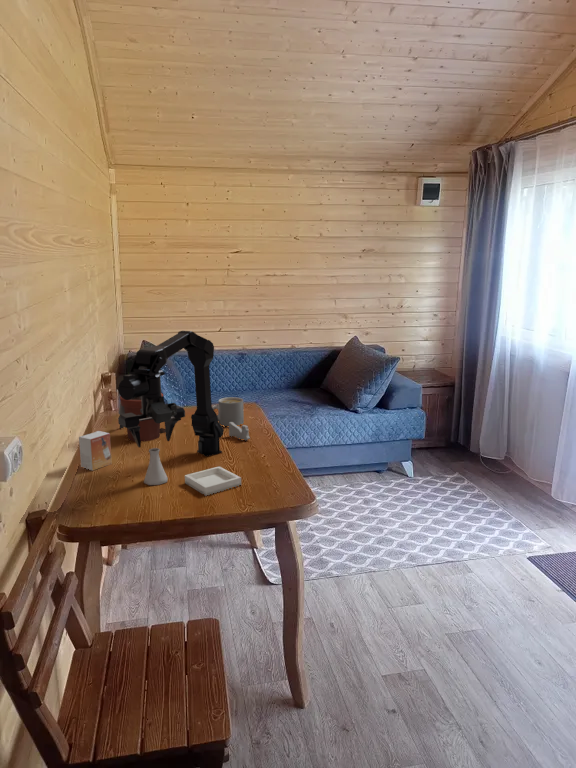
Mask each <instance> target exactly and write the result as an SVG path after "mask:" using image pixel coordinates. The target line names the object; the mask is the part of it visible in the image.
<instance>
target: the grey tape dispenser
mask: <svg viewBox="0 0 576 768" xmlns="http://www.w3.org/2000/svg"><path fill="white" fill-rule="evenodd" d="M249 432H250V430H249V426H248V425H245V424H243V425H242V426H237V425H235V424H234V423H233V422H230V423H229V427H228V436H231V437H230V438H233V437H235V438H236V439H239V438H240V439H244V440H245V441H249V440H251V437H250V434H249ZM232 436H233V437H232ZM240 439H239V440H240ZM248 439H249V440H248Z"/></svg>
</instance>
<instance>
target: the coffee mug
mask: <svg viewBox="0 0 576 768" xmlns="http://www.w3.org/2000/svg"><path fill="white" fill-rule="evenodd" d="M212 408H213V410H214V411H215V410H216V409H217V410H218V413H217V419H218V423H219V424H221V425H224V426H229V423H230V422H233V423H234V424H235V425H240V424H243V423H244V421H245V420H244V418H245V417H244V398H242V397H235V396H234V397H232V396H231V397H222V398H220V399H218V404H214V405H212ZM243 425H244V424H243Z"/></svg>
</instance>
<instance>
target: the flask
mask: <svg viewBox="0 0 576 768" xmlns="http://www.w3.org/2000/svg"><path fill="white" fill-rule="evenodd" d="M160 450H161V449H160V448H158V447H153V448H152V447H151V448H149V449H148V453H149V463H148V466H147V468H146V469H147V470H146V473H145V476H144V479H143V483H144V484H145V485H148V486H159V485H162V484H165V483H168V481H169V480H168V479H169V478H168V476H167V473H166V472H165V469H164V467H163V464H162V462H161V459H160V454H159V453H160Z"/></svg>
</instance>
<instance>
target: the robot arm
mask: <svg viewBox="0 0 576 768" xmlns="http://www.w3.org/2000/svg"><path fill="white" fill-rule="evenodd" d="M183 349H184V350H185V351H186V352H187V355H188V361H189V362H190V363H191V364H192V366H193V373H194V382H195V383H194V386H195V388H194V389H195V401H196V409H195V411H194V413H193V414H191V416H190V418H191V427H192V429H193V433H194V436H195V437H196V436H197V437H198V438H199V439H198V441H197V447H198V448H197V449H198V450H197V453H199V454H200V455H203V456H204V457H210V456H215V455H218V454H222V453H223V451H222V450H221V448H220V447H221V446H220V445H221V444H220V438H222V437H223V435H224V431H225V428H224V427H222V426H221V425H220V424H219V421H218V419H217V415H218V413H216V412H215V409H214V410H213V408H212V406H213V405H212V391H211V390H212V389H211V375H210V374H211V373H210V365H211V363H212V362H213V359H214V356H215V355H214V354H215V353H214V352H215V345H214V343H213V342H212V340H209V339H207V338H205V337H203V336H201V335H198V334H197V333H196V332H194V331H193V330H180V331H178V332H177V333H176V334H175V335H173V336H171V337H170V338H168V339H166V340H164V341H163V342H161V343H159V344H157V345H154V346H147V347H144V348H140V349H139V350H138V351H136V354H135V357H134V359H133V361H132V364H131V365H130V368H129V371H128V373H129V374H124V375H122V376H123V377H122V378H123V379H122V380H121V381H120V382H119V384H118V387H117V390H118V394H119V397H120V396H121V397H122V398H123V399H125V400H131V399H134V398H137V397H140V399H141V401H142V409H140V412H141V413H142V414H141V415H135V414H133V413H126V414H120V415H119V416H118V419H117V421H118V424H119V426H120V425H122V426H124V427H123V428H125V429H127V428H128V429H129V431H130V432H131V434H132V436H133V438H134V440H135V441H134V442H135V443H136V445H137V447H138V448H141V446H142V445H141V443H142V442H141V440H140V432H139V430H140V426H138V424H139V421H144V420H150V419H153V420H154V422H155V423H160V424H161V423H164V429H165V438H166V441H167V442H170V441H171V438H172V434H173V432H174V428H175V426H176V424H177V423H178V422H179V421H181V420H182V418H185V417H186V410H185V409H184V407H182V406H179V405H177V404H176V402H170V403H166V402H165V398H164V395H163V396H161V393H162V387H161V386H162V384H161V383H162V382H161V379H162V378H161V377H162V376H165V375H166V372H165V371H163V370H162V368H163V367H164V366H165V365H166V364H167V361H168V359H169V358H170V357H172V356H173V355H175V354H177V353H179V352H180V351H181V350H183ZM146 416H147V417H146Z"/></svg>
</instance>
